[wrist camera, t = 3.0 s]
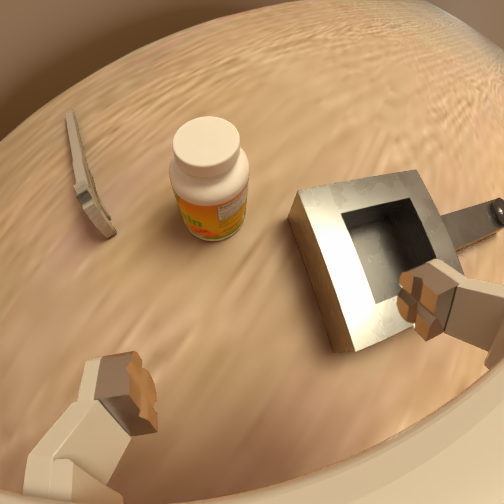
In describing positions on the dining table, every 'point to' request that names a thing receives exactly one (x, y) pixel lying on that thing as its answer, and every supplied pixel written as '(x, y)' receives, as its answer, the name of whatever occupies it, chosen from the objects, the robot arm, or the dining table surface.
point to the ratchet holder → (377, 248)
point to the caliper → (86, 181)
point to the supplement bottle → (210, 177)
